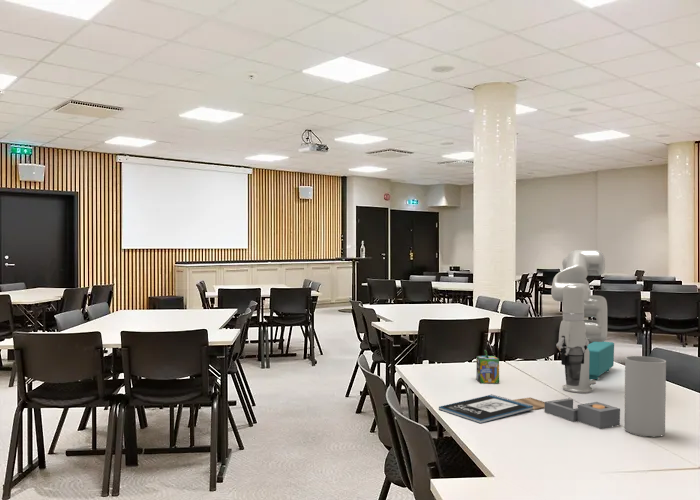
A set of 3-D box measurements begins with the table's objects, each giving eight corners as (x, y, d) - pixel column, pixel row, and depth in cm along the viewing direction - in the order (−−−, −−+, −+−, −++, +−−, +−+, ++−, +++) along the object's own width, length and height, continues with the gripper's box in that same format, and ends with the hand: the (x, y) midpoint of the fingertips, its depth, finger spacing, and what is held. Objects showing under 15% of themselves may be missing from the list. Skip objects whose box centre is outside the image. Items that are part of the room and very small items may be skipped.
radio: (593, 368, 312) (593, 340, 312) (614, 371, 306) (614, 342, 306) (575, 379, 285) (576, 348, 285) (598, 382, 279) (598, 350, 279)
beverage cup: (584, 387, 218) (585, 333, 218) (563, 386, 219) (564, 333, 219) (580, 382, 225) (581, 330, 225) (560, 381, 227) (561, 330, 226)
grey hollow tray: (569, 408, 231) (569, 393, 231) (621, 425, 209) (621, 408, 209) (544, 412, 225) (544, 396, 225) (596, 429, 203) (596, 412, 203)
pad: (530, 398, 245) (530, 397, 245) (555, 406, 233) (555, 405, 233) (504, 402, 239) (504, 400, 239) (529, 410, 226) (529, 409, 226)
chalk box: (499, 383, 272) (499, 352, 272) (479, 383, 272) (480, 351, 272) (495, 379, 281) (495, 348, 281) (475, 379, 282) (476, 348, 282)
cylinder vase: (663, 440, 192) (664, 364, 192) (622, 433, 199) (622, 360, 199) (666, 430, 203) (667, 358, 203) (626, 424, 210) (627, 354, 210)
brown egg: (597, 414, 214) (597, 403, 214) (606, 417, 210) (607, 406, 210) (589, 416, 212) (590, 405, 212) (599, 419, 208) (599, 407, 208)
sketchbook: (438, 410, 226) (438, 404, 226) (491, 398, 243) (491, 393, 243) (480, 423, 209) (480, 417, 209) (534, 409, 226) (534, 404, 226)
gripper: (581, 315, 229) (581, 360, 229) (548, 317, 221) (548, 364, 221) (597, 317, 222) (597, 363, 223) (564, 320, 214) (563, 368, 215)
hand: (572, 363), depth 222 cm, fingers closed on beverage cup, 7 cm apart
